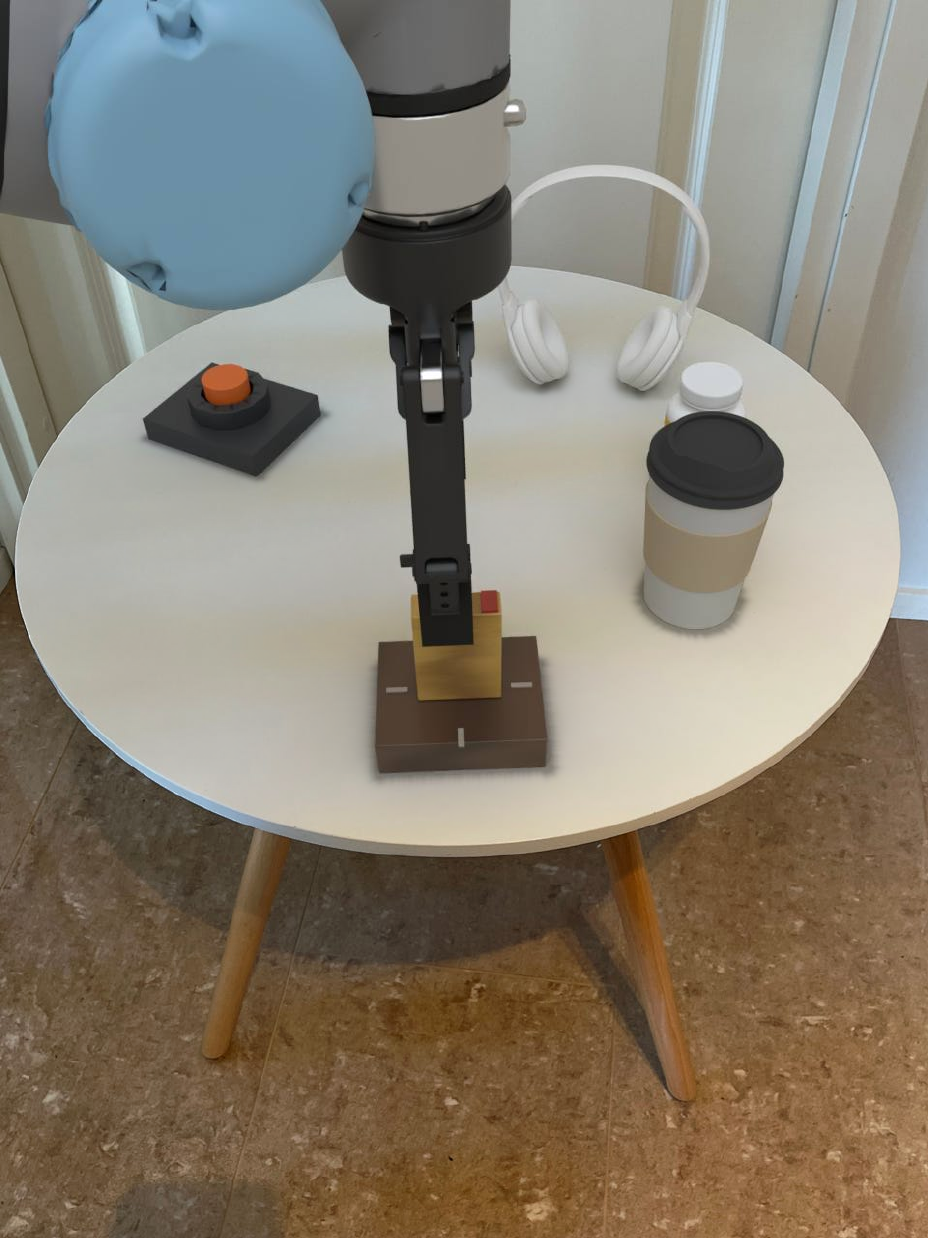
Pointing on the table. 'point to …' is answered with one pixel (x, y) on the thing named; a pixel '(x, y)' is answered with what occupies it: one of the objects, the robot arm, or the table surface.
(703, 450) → the coffee cup
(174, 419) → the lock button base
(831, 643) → the table surface
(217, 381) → the button
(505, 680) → the plate
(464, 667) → the lock knob
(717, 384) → the pill bottle
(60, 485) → the table surface
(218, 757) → the table surface
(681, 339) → the headphones
